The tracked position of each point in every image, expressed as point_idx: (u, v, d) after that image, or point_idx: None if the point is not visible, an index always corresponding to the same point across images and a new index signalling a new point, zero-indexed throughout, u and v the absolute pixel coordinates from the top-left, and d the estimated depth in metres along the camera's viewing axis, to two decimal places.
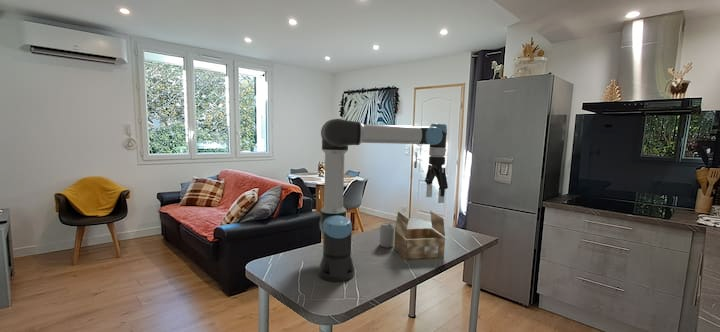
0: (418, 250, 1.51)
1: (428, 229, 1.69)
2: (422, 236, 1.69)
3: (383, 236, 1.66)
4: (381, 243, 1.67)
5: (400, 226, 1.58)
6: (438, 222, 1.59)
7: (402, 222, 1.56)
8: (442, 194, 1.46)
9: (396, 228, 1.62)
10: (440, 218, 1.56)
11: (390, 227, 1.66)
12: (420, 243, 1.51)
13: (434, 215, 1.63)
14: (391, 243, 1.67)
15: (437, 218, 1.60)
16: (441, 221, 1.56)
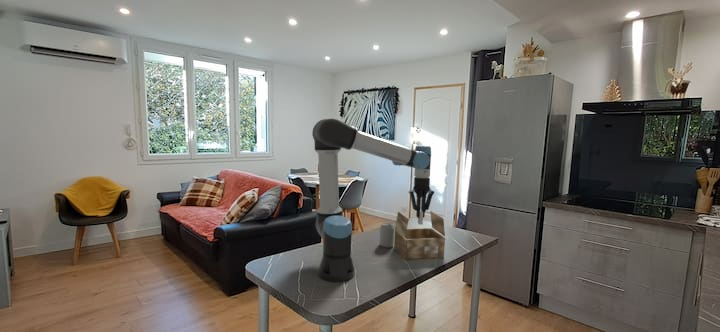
0: (418, 250, 1.51)
1: (428, 229, 1.69)
2: (422, 236, 1.69)
3: (383, 236, 1.66)
4: (381, 243, 1.67)
5: (400, 226, 1.58)
6: (438, 222, 1.59)
7: (402, 222, 1.56)
8: (416, 215, 1.59)
9: (396, 228, 1.62)
10: (440, 218, 1.56)
11: (390, 227, 1.66)
12: (420, 243, 1.51)
13: (434, 215, 1.63)
14: (391, 243, 1.67)
15: (437, 218, 1.60)
16: (441, 221, 1.56)
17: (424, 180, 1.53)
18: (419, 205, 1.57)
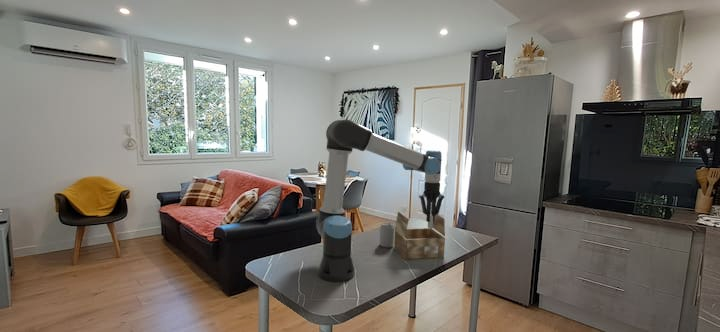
0: (418, 250, 1.51)
1: (428, 229, 1.69)
2: (422, 236, 1.69)
3: (383, 236, 1.66)
4: (381, 243, 1.67)
5: (400, 226, 1.58)
6: (439, 222, 1.60)
7: (402, 222, 1.56)
8: (426, 219, 1.60)
9: (396, 228, 1.62)
10: (441, 218, 1.56)
11: (390, 227, 1.66)
12: (420, 243, 1.51)
13: None
14: (391, 243, 1.67)
15: (438, 218, 1.60)
16: (442, 221, 1.56)
17: (434, 185, 1.55)
18: (429, 209, 1.58)
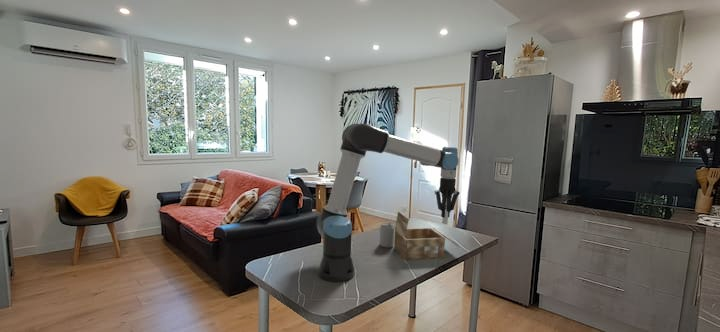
0: (418, 250, 1.51)
1: (428, 229, 1.69)
2: (422, 236, 1.69)
3: (383, 236, 1.66)
4: (381, 243, 1.67)
5: (400, 226, 1.58)
6: None
7: (402, 222, 1.56)
8: (441, 215, 1.62)
9: (396, 228, 1.62)
10: None
11: (390, 227, 1.66)
12: (420, 243, 1.51)
13: None
14: (391, 243, 1.67)
15: None
16: None
17: (450, 181, 1.56)
18: (444, 205, 1.60)
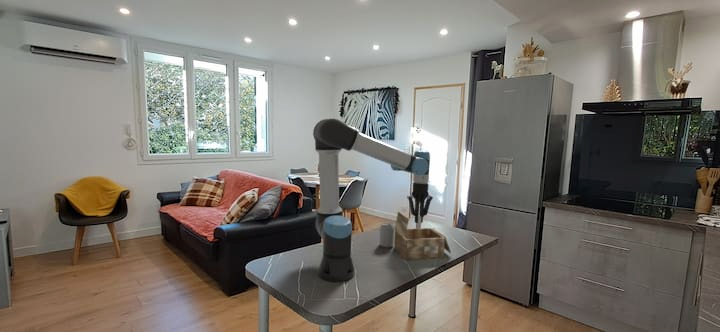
0: (418, 250, 1.51)
1: (428, 229, 1.69)
2: (422, 236, 1.69)
3: (383, 236, 1.66)
4: (381, 243, 1.67)
5: (400, 226, 1.58)
6: None
7: (402, 222, 1.56)
8: (415, 220, 1.59)
9: (396, 228, 1.62)
10: None
11: (390, 227, 1.66)
12: (420, 243, 1.51)
13: None
14: (391, 243, 1.67)
15: None
16: None
17: (422, 186, 1.54)
18: (417, 210, 1.57)
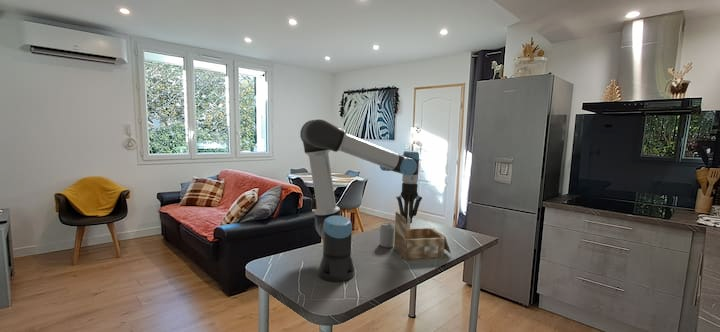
0: (418, 250, 1.51)
1: (428, 229, 1.69)
2: (422, 236, 1.69)
3: (383, 236, 1.66)
4: (381, 243, 1.67)
5: (399, 226, 1.57)
6: None
7: (400, 222, 1.56)
8: None
9: (396, 228, 1.62)
10: None
11: (390, 227, 1.66)
12: (420, 243, 1.51)
13: None
14: (391, 243, 1.67)
15: None
16: None
17: (411, 186, 1.52)
18: (406, 211, 1.56)
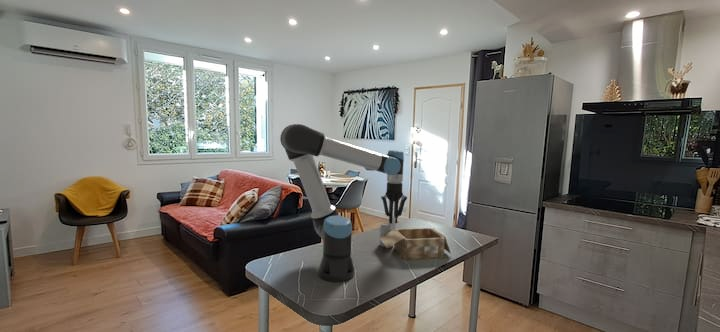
0: (418, 250, 1.51)
1: (428, 229, 1.69)
2: (422, 236, 1.69)
3: None
4: (381, 243, 1.67)
5: None
6: None
7: None
8: (389, 221, 1.56)
9: None
10: None
11: None
12: (420, 243, 1.51)
13: None
14: None
15: None
16: None
17: (396, 185, 1.51)
18: (391, 211, 1.54)
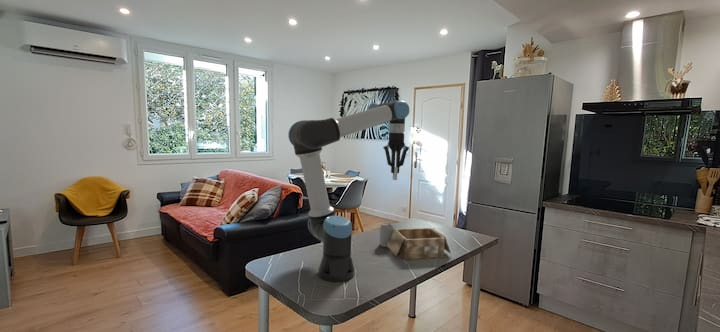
0: (418, 250, 1.51)
1: (428, 229, 1.69)
2: (422, 236, 1.69)
3: (383, 236, 1.66)
4: (381, 243, 1.67)
5: None
6: None
7: None
8: (391, 171, 1.60)
9: None
10: None
11: (390, 227, 1.66)
12: (420, 243, 1.51)
13: None
14: None
15: None
16: None
17: (398, 134, 1.55)
18: (393, 160, 1.58)
